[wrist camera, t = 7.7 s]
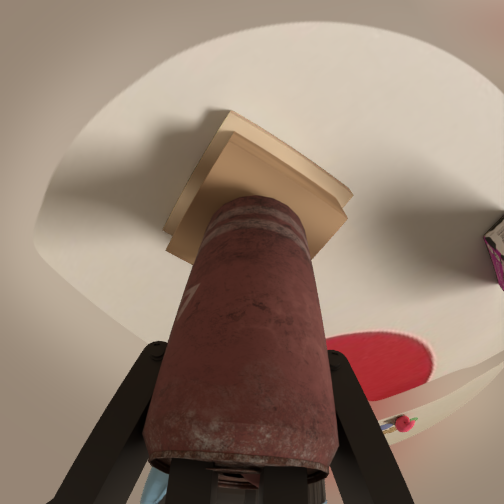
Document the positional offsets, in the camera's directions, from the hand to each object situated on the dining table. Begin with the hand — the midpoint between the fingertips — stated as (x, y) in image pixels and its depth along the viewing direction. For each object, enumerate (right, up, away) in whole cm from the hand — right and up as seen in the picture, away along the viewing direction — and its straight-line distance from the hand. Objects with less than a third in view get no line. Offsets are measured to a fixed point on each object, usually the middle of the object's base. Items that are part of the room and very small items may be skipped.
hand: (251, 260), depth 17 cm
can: (0, +1, +2) cm, 2 cm away
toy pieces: (+34, -40, +35) cm, 63 cm away
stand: (0, +4, +7) cm, 8 cm away
